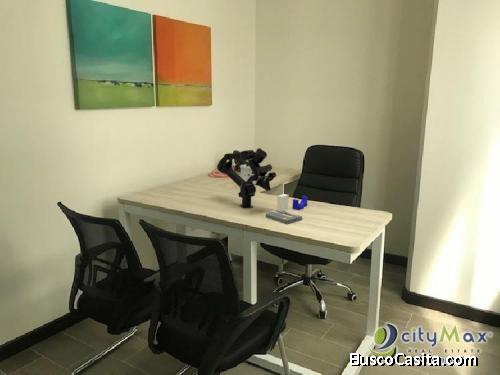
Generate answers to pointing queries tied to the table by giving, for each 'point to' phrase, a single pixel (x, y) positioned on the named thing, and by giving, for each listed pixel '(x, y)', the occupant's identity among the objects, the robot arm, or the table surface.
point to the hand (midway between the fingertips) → (268, 190)
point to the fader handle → (282, 203)
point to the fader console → (283, 217)
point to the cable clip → (302, 203)
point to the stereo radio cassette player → (246, 173)
